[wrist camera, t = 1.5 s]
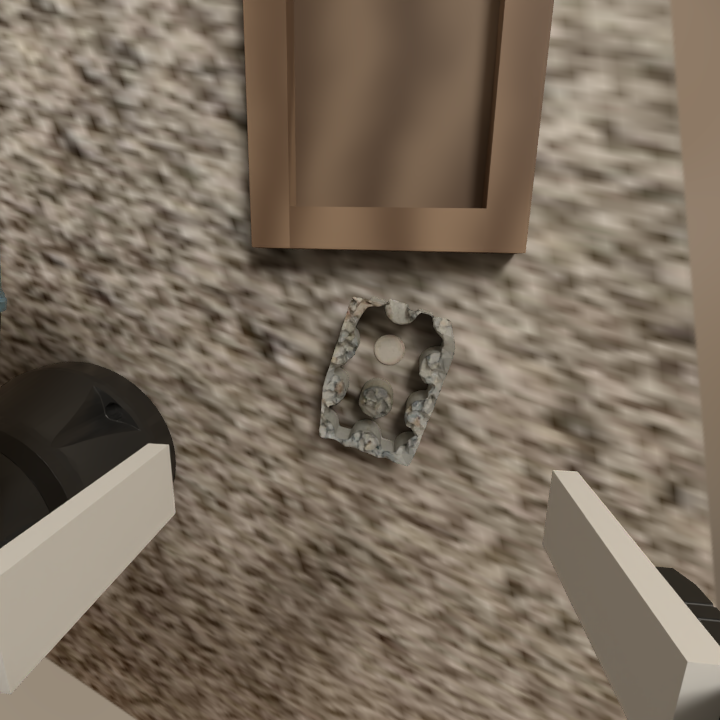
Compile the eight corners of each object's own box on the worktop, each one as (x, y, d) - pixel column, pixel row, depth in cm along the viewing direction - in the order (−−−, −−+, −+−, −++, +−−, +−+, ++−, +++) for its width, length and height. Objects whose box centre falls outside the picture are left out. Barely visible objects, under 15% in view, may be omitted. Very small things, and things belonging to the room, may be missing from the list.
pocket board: (264, 248, 29) (251, 247, 27) (255, -83, 25) (238, -121, 22) (515, 253, 27) (525, 252, 25) (553, -103, 23) (570, -145, 20)
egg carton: (358, 285, 29) (350, 288, 25) (459, 319, 29) (467, 327, 25) (316, 419, 32) (303, 441, 28) (409, 450, 32) (409, 477, 28)
